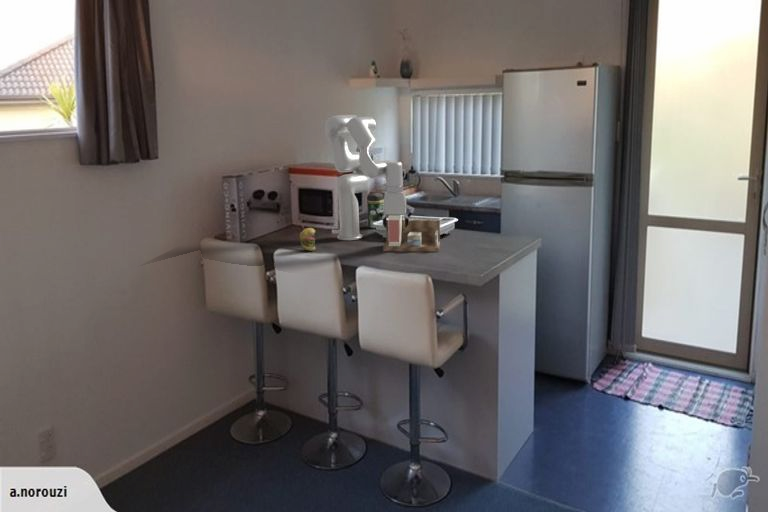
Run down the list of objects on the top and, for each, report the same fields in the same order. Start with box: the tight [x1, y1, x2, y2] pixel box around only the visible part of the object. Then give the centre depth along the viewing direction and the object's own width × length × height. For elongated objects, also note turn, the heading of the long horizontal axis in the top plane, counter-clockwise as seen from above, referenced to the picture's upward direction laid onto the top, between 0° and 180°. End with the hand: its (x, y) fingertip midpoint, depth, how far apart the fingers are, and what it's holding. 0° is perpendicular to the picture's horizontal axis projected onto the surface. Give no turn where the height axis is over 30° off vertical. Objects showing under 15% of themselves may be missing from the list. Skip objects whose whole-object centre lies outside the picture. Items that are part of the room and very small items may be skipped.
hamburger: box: [299, 225, 316, 252], centre depth 296 cm, size 8×7×12 cm
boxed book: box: [387, 215, 402, 246], centre depth 297 cm, size 5×9×14 cm, turn 172°
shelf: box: [382, 220, 441, 253], centre depth 297 cm, size 25×13×12 cm, turn 82°
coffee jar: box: [366, 192, 385, 230], centre depth 346 cm, size 10×8×19 cm
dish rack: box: [373, 215, 459, 238], centre depth 325 cm, size 32×37×8 cm
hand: (395, 226), depth 296 cm, fingers open, 9 cm apart
